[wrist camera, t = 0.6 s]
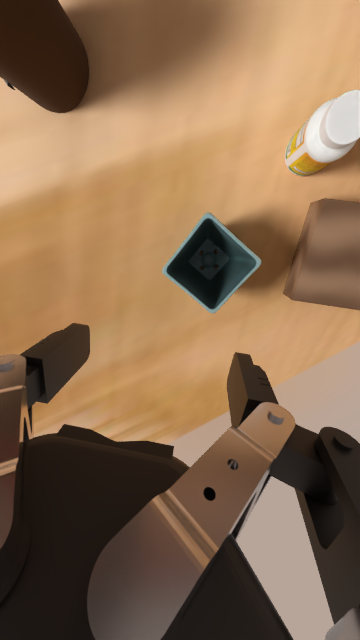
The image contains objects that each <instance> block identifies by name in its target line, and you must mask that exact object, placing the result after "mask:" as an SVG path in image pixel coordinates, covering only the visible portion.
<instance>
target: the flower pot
mask: <svg viewBox="0 0 360 640" xmlns="http://www.w3.org/2000/svg"><path fill="white" fill-rule="evenodd" d="M214 250H217V253H214ZM200 251H202V252H203V254H202V255H200V254H199V252H200ZM261 263H262V261H261V259H260V258H259V257H258V256H257V255H256V254H255V253H253V252H252V251H251V250H250V249H249V248H248V247H247V246H246V245H244V244H243V243H242V242H241V241H240V240H239V239H238V238H237V237H236V236H235V235H234V234H233V233H231V232H230V231H229V230H228V229H227V228H226V227H225V226H224V225H223V224H222V223H221V222H220V221H219V220H218V219H217V218H216V217H215V216H213V215H212V214H211V213H206V214H204V215H203V217H202V218H201V219H200V221H199V222H198V223H197V225H196V226H195V227H194V229H193V230H192V231H191V233H190V234H189V235H188V237H187V238H186V239H185V241H184V242H183V243H182V244H181V246H180V247H179V248H178V250H177V251H176V252H175V253H174V255H173V256H172V257H171V258H170V260H169V261H168V262H167V264H166V265H165V266H164V267H163V269H162V273H163V274H164V275H165V276H166V277H168V278H169V279H170V280H171V281H173V282H174V283H175V284H176V285H178V286H179V287H180V288H181V289H183V290H184V291H185V292H186V293H187V294H189V295H190V296H191V297H192V298H193V299H195V300H196V301H197V302H198V303H199V304H201V305H202V306H203V307H204V308H205V309H206V310H207V311H209V312H210V313H212V314H214V313H216V312H217V311H218V310H219V309H220V307H221V306H222V305H223V304H224V303H225V302H226V301H227V300H228V299H229V298H230V297H231V295H232V294H233V293H234V292H235V291H236V290H237V289H238V288H239V287H240V286H241V285H242V284H243V283H244V282H245V281H246V280H247V279H248V278H249V277H250V276H251V275H252V274H253V273H254V272H255V271H256V270H257V269H258V268H259V266H260V265H261ZM215 265H218V268H215ZM201 266H203V267H204V268H203V269H202V270H201V269H200V267H201Z"/></svg>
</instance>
